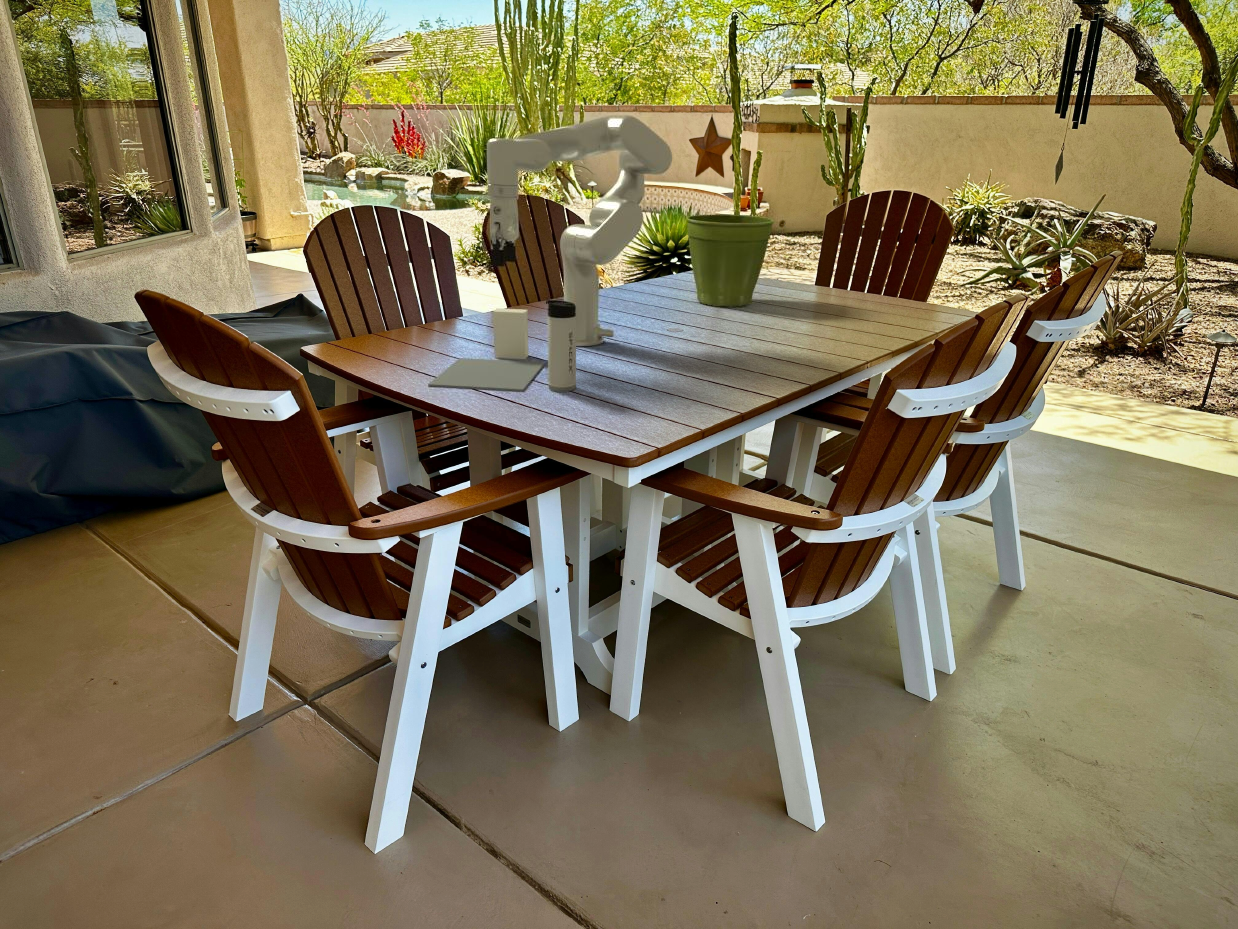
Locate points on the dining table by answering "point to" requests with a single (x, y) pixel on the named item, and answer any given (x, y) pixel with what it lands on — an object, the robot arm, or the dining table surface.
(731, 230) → the plant pot
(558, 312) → the travel mug
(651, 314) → the dining table surface
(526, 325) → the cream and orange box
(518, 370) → the mat
